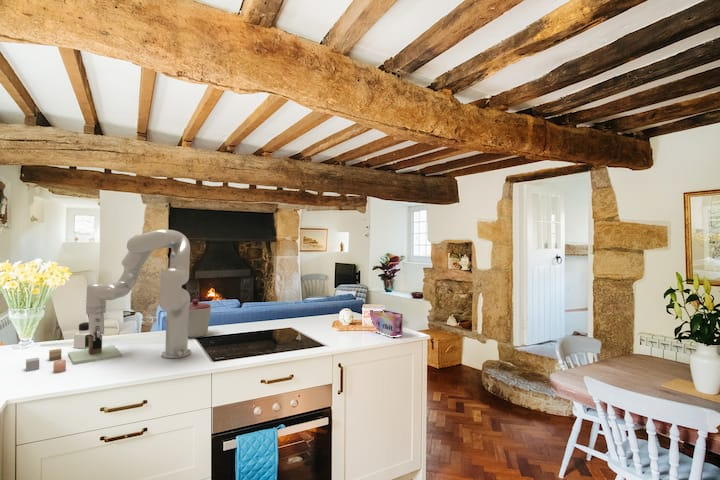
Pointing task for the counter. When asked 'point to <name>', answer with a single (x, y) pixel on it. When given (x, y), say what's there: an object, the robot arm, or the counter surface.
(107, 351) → the sage board
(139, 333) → the counter surface
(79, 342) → the medicine bottle
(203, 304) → the canister
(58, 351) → the oak cube
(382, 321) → the gum box
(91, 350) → the walnut block
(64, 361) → the terracotta cylinder
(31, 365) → the stone cube
